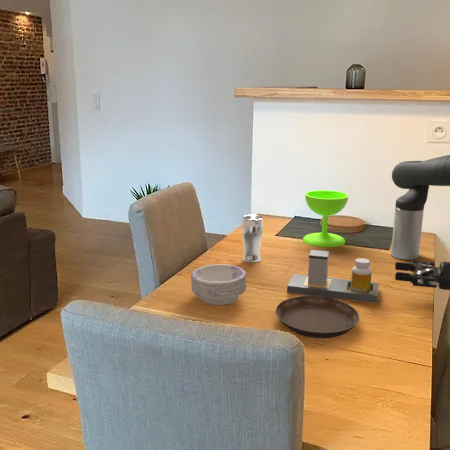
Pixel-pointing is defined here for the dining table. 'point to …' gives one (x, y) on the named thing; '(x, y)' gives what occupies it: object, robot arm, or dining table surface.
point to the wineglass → (325, 215)
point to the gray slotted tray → (327, 282)
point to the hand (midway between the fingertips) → (395, 270)
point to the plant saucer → (317, 316)
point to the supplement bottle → (361, 276)
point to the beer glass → (252, 237)
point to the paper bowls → (218, 283)
